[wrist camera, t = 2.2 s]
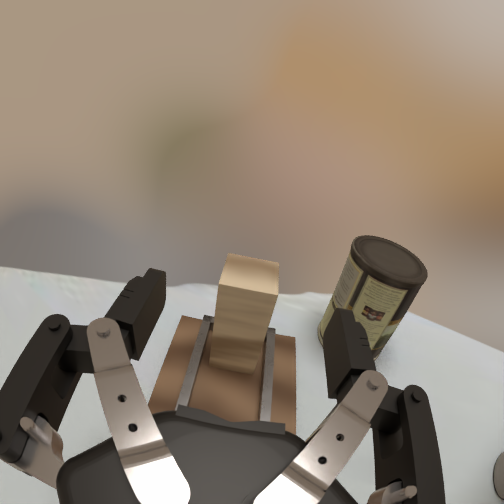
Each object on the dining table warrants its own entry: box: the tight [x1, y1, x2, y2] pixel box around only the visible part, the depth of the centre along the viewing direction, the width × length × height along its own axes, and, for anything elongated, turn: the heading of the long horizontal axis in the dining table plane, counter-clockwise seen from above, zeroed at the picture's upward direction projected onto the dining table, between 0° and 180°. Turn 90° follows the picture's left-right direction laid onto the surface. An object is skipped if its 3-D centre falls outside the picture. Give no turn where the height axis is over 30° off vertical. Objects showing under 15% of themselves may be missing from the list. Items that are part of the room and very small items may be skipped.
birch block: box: [209, 253, 279, 375], centre depth 28 cm, size 5×5×12 cm
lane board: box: [148, 315, 296, 435], centre depth 23 cm, size 28×15×2 cm, turn 175°
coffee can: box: [318, 235, 427, 360], centre depth 34 cm, size 10×10×14 cm
